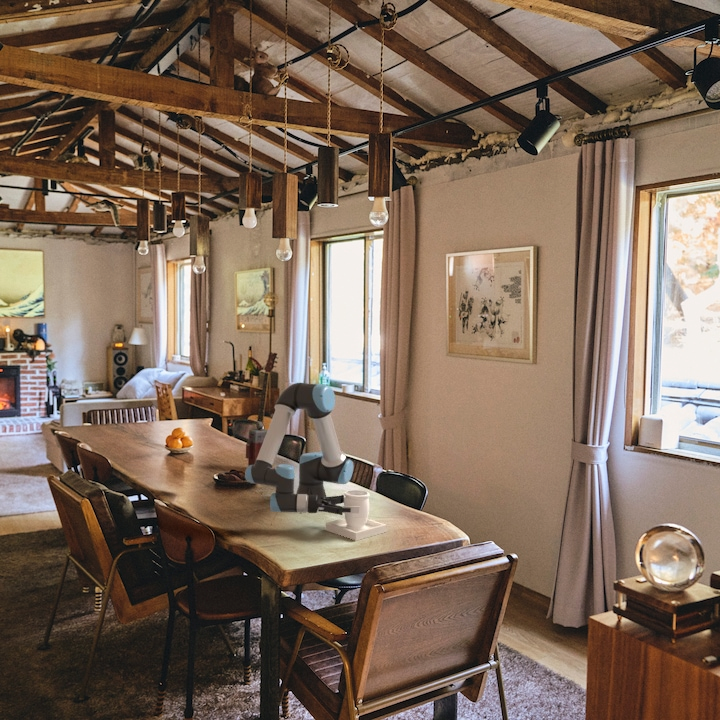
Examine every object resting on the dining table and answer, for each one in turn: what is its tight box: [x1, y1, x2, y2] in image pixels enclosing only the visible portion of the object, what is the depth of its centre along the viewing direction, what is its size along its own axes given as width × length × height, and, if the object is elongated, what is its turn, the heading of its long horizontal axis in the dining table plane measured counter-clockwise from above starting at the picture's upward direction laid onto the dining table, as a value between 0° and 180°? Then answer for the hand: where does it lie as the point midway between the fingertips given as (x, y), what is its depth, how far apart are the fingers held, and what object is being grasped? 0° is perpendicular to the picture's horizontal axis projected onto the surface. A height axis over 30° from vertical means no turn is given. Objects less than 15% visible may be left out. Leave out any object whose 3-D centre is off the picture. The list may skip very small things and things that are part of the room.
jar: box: [343, 489, 371, 531], centre depth 291 cm, size 11×10×15 cm
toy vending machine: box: [245, 421, 268, 467], centre depth 396 cm, size 9×11×28 cm
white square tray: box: [325, 517, 388, 542], centre depth 292 cm, size 18×18×3 cm
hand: (359, 505), depth 291 cm, fingers open, 13 cm apart
